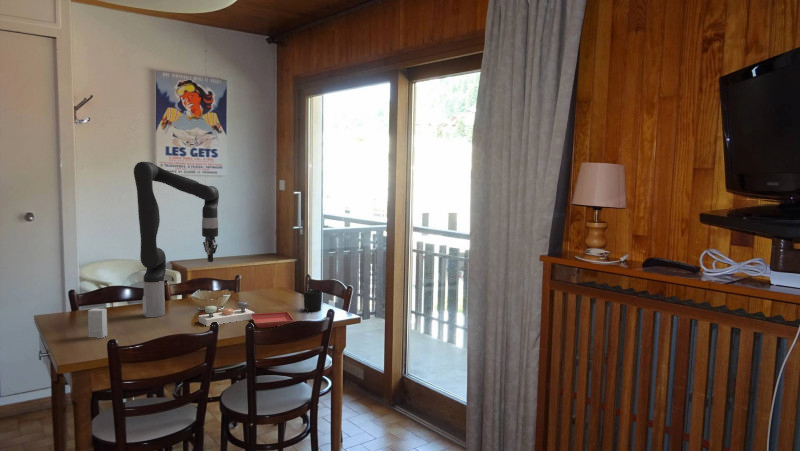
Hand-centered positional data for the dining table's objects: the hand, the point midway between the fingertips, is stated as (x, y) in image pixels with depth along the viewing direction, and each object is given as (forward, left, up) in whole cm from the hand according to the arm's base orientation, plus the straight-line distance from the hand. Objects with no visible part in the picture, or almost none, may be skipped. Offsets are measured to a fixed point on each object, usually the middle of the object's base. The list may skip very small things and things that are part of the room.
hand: (210, 261), depth 274 cm
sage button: (-5, -13, -25) cm, 28 cm away
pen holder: (+47, -19, -27) cm, 58 cm away
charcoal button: (+11, -13, -25) cm, 30 cm away
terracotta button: (+3, -13, -27) cm, 30 cm away
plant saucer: (+18, -30, -28) cm, 44 cm away
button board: (+3, -13, -27) cm, 30 cm away
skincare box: (-52, -8, -27) cm, 59 cm away
